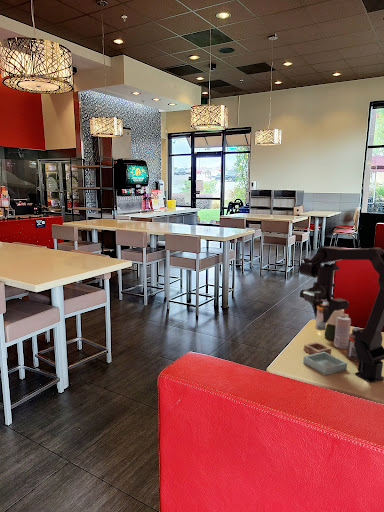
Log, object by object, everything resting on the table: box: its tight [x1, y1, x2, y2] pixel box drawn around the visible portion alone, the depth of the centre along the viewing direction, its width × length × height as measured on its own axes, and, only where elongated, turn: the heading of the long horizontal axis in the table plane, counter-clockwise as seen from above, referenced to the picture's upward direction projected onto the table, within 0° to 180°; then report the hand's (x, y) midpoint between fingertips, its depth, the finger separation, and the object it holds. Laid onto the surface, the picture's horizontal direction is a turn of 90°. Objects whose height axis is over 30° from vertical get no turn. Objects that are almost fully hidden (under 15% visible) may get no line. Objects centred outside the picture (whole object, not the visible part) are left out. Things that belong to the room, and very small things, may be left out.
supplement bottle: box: [346, 327, 362, 362], centre depth 140 cm, size 6×6×11 cm
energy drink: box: [333, 316, 352, 350], centre depth 151 cm, size 5×5×12 cm
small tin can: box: [314, 303, 327, 331], centre depth 142 cm, size 4×4×9 cm
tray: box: [302, 352, 348, 376], centre depth 133 cm, size 10×10×2 cm
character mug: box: [323, 309, 349, 340], centre depth 159 cm, size 11×7×13 cm, turn 67°
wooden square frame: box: [303, 341, 332, 355], centre depth 145 cm, size 7×7×2 cm
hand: (321, 320), depth 142 cm, fingers closed on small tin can, 4 cm apart
